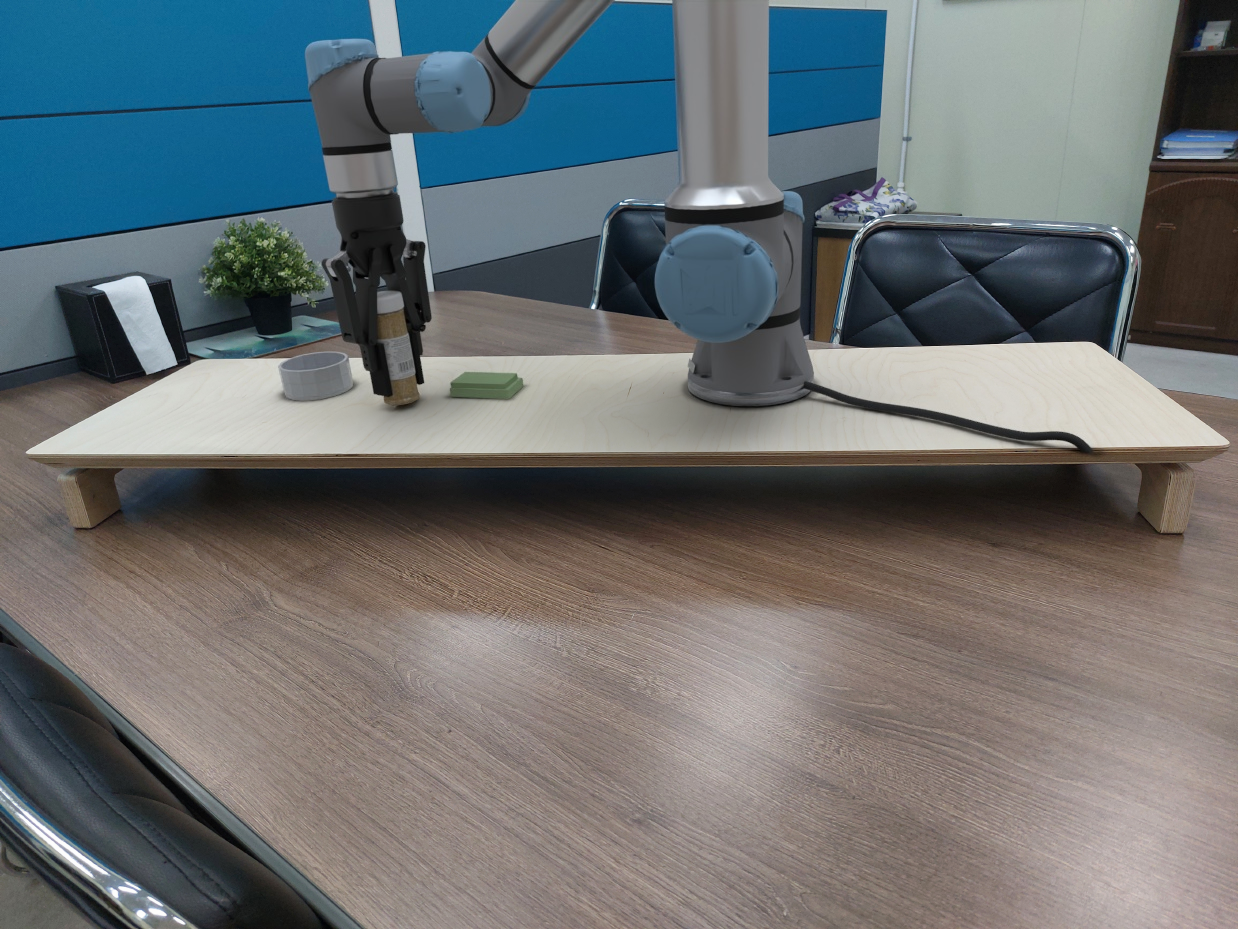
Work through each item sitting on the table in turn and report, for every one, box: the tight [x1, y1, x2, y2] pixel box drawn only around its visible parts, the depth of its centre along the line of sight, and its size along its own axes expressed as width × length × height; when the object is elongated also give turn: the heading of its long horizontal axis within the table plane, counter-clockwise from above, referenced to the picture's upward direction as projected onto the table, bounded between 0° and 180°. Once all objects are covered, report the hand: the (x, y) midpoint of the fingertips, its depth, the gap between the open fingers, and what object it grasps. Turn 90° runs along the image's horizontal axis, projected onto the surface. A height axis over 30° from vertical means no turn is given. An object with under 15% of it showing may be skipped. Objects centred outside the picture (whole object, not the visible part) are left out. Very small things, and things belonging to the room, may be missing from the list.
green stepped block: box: [449, 371, 524, 400], centre depth 107 cm, size 8×5×2 cm, turn 75°
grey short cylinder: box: [277, 351, 354, 402], centre depth 111 cm, size 9×9×4 cm
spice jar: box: [377, 290, 421, 406], centre depth 102 cm, size 5×5×14 cm
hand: (399, 388), depth 104 cm, fingers closed on spice jar, 4 cm apart
